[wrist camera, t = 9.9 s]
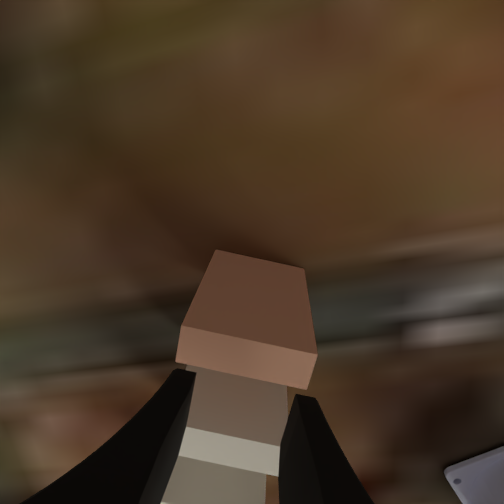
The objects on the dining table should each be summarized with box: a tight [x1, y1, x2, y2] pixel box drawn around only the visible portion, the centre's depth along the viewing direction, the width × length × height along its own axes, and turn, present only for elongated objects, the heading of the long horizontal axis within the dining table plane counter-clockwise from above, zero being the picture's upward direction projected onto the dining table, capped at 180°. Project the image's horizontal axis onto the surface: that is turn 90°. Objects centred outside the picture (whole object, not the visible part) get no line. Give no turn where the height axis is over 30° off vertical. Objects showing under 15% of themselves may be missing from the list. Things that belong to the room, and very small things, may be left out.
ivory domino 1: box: [178, 364, 288, 476], centre depth 19 cm, size 2×5×8 cm, turn 78°
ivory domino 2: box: [160, 456, 266, 504], centre depth 21 cm, size 2×5×8 cm, turn 78°
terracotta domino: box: [175, 250, 318, 390], centre depth 18 cm, size 2×5×8 cm, turn 79°
